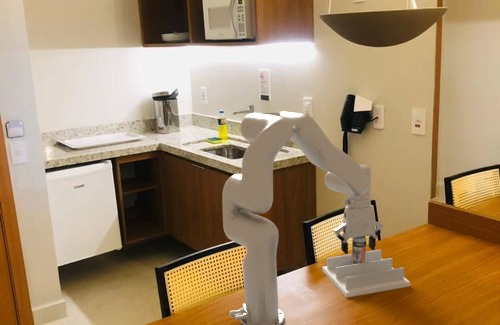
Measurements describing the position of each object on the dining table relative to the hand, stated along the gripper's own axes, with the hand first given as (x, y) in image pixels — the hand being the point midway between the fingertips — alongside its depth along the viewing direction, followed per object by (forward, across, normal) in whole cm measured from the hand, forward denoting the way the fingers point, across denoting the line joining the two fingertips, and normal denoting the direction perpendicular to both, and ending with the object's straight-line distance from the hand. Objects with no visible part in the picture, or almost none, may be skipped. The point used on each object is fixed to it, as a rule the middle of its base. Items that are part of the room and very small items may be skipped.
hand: (358, 250), depth 175 cm
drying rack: (+8, 0, -4) cm, 9 cm away
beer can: (+7, 0, 0) cm, 7 cm away
